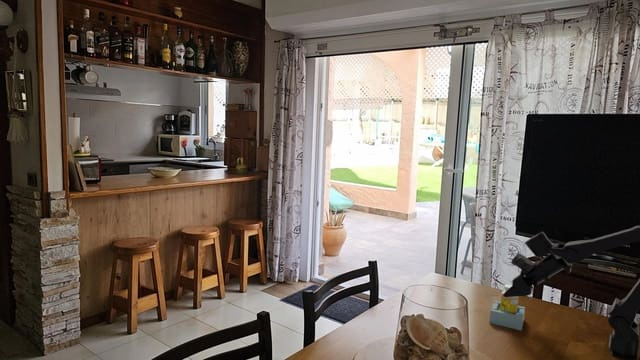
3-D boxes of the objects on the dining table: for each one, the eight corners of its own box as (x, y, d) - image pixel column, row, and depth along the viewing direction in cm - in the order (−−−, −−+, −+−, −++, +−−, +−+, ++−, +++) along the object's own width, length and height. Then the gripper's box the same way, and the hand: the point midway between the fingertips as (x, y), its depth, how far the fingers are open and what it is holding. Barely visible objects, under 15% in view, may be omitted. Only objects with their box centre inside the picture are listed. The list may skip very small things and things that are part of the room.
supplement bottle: (520, 316, 146) (522, 289, 145) (505, 316, 146) (508, 289, 144) (511, 309, 152) (513, 283, 151) (496, 309, 151) (499, 283, 150)
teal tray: (523, 319, 151) (525, 307, 151) (521, 330, 142) (522, 317, 142) (493, 312, 156) (494, 300, 155) (489, 322, 147) (490, 310, 147)
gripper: (534, 242, 151) (498, 266, 159) (522, 253, 136) (483, 279, 144) (557, 269, 147) (519, 292, 155) (548, 284, 132) (506, 308, 140)
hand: (507, 292), depth 148 cm, fingers open, 9 cm apart
